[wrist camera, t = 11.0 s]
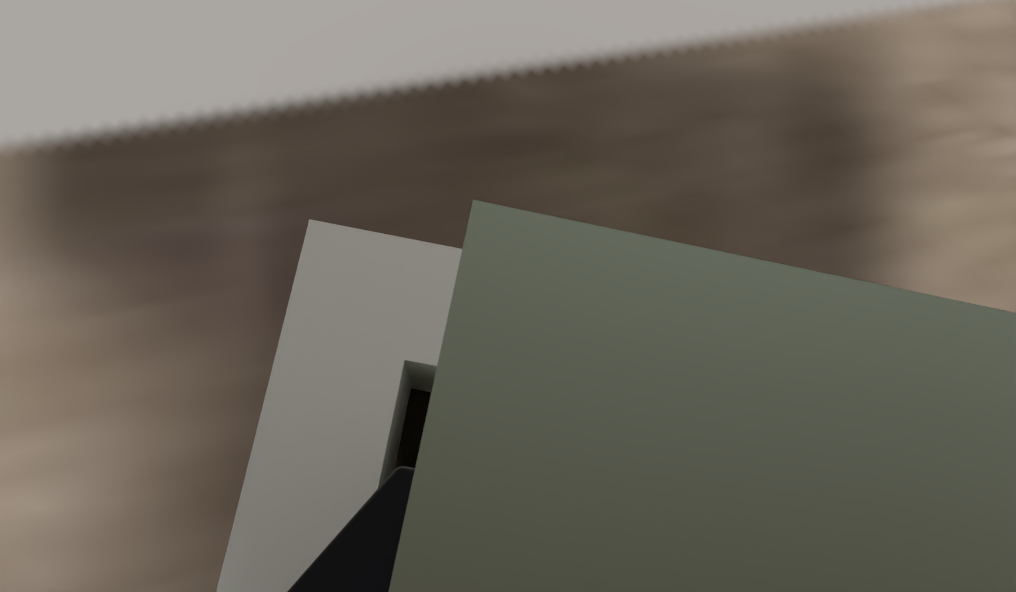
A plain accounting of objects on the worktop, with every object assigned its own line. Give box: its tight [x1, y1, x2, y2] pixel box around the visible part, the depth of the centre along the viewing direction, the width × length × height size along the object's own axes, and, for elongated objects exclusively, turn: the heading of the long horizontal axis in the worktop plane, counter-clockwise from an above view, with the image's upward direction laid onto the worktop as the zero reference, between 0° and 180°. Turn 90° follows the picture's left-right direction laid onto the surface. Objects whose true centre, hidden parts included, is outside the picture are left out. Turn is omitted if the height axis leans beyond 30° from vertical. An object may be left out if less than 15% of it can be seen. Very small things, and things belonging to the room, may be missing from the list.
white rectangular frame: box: [216, 219, 462, 592], centre depth 14 cm, size 11×9×4 cm
